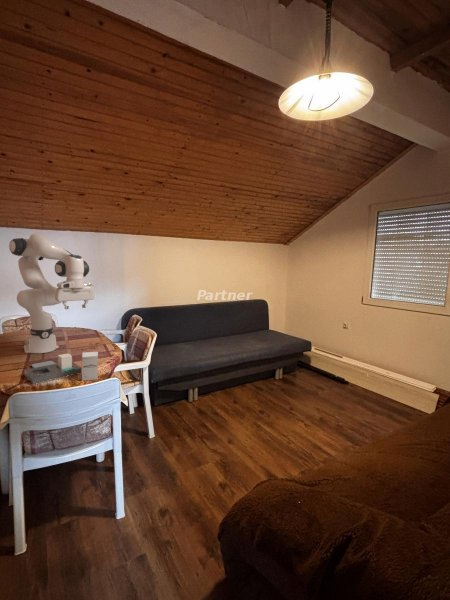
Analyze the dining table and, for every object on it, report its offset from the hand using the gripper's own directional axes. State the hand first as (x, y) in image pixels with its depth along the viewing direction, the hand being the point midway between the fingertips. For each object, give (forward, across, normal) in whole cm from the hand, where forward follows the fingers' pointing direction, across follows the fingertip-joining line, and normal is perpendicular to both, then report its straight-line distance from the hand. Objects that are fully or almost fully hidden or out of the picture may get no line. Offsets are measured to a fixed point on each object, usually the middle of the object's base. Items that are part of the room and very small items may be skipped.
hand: (75, 308), depth 168 cm
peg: (+31, +10, +13) cm, 35 cm away
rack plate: (+31, +16, +13) cm, 37 cm away
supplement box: (+31, +4, +28) cm, 42 cm away
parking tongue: (+31, +16, -1) cm, 35 cm away
